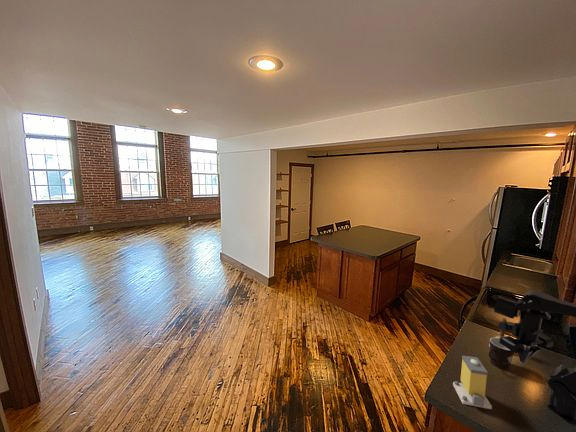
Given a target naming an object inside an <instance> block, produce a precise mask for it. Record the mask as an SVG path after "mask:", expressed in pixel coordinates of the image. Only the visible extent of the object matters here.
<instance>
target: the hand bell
mask: <svg viewBox="0 0 576 432" xmlns="http://www.w3.org/2000/svg"><path fill="white" fill-rule="evenodd" d="M501 321H503V322H508V321H507V318H505V317H502V319H501V320H500V322H501ZM499 330H500V329H499ZM501 337H505V332H503V331H502V330H500V331H499V335H498V336H497V335H496V336H495V337H494V338H501ZM488 347H489V348H490V343H489V344H488Z"/></svg>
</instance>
